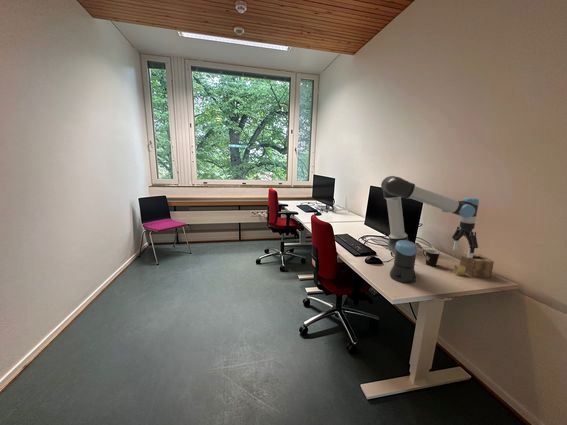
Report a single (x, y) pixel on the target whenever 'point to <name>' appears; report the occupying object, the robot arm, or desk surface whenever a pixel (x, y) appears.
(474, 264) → the box
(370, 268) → the desk surface
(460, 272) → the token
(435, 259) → the coffee mug
